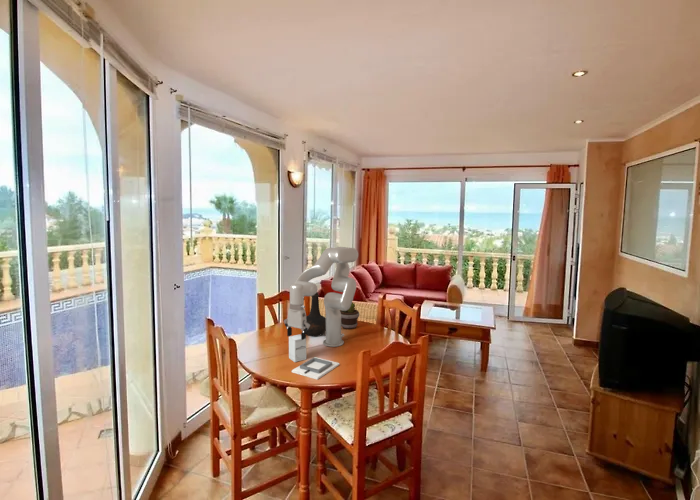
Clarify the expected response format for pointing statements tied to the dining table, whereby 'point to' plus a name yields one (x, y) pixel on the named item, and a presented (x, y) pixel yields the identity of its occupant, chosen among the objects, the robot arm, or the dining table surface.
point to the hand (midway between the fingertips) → (296, 337)
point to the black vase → (315, 318)
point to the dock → (315, 368)
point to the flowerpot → (349, 317)
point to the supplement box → (297, 348)
